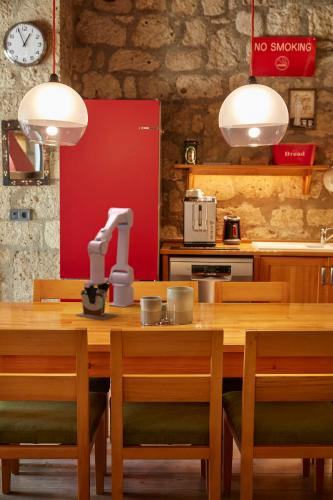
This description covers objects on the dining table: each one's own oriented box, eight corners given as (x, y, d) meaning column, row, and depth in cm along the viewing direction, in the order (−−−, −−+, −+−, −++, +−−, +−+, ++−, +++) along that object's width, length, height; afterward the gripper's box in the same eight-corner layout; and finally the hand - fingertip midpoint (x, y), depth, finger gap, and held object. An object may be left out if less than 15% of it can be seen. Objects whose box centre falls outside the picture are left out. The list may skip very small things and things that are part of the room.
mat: (91, 311, 237) (91, 310, 236) (117, 315, 230) (117, 314, 230) (76, 315, 228) (76, 314, 228) (103, 320, 221) (103, 319, 221)
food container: (113, 314, 229) (113, 290, 227) (104, 317, 223) (104, 293, 222) (89, 310, 235) (89, 287, 233) (80, 313, 229) (80, 290, 228)
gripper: (94, 272, 218) (94, 306, 220) (115, 268, 231) (115, 300, 232) (80, 271, 222) (80, 304, 223) (102, 267, 234) (101, 298, 236)
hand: (97, 302), depth 228 cm, fingers closed on food container, 6 cm apart
